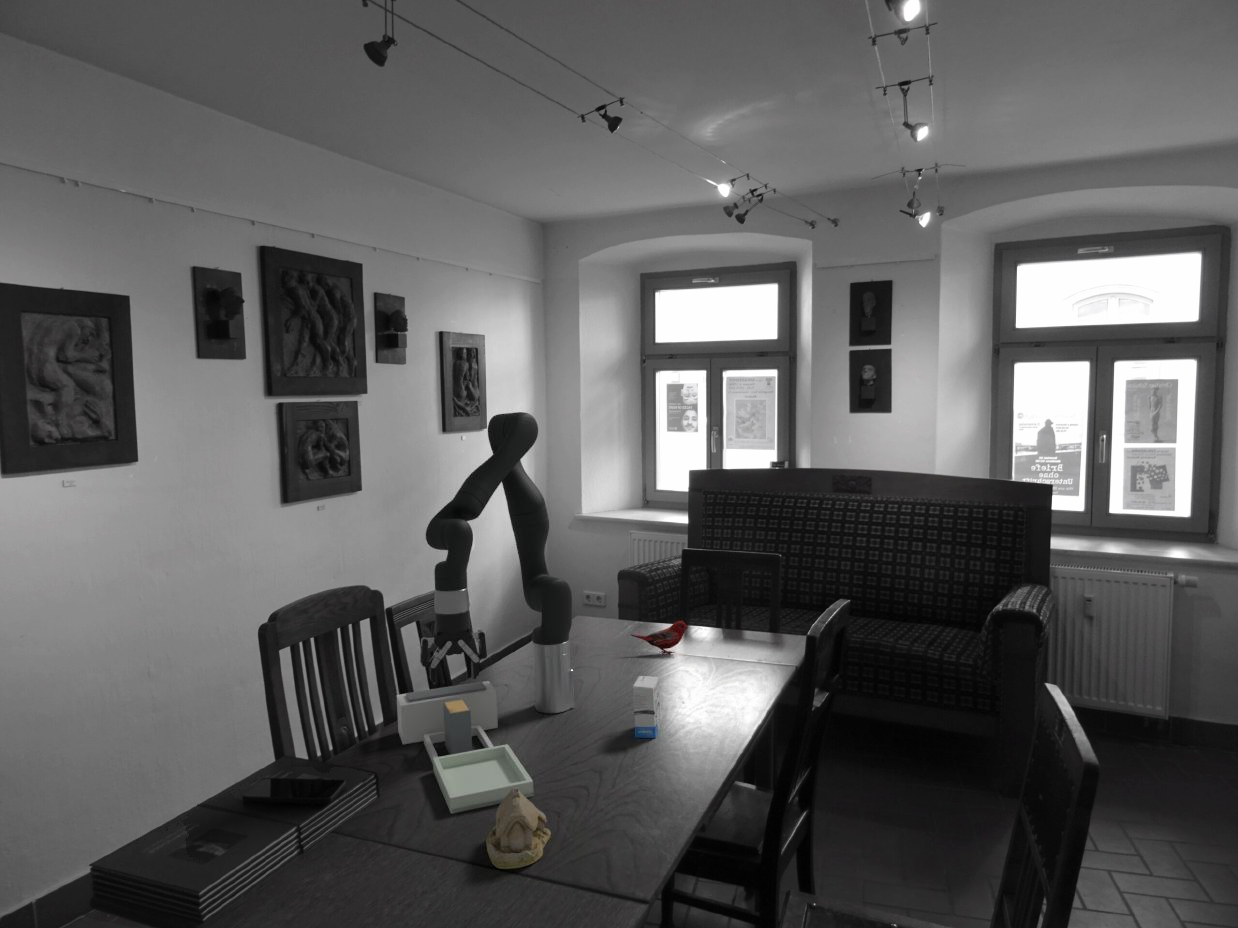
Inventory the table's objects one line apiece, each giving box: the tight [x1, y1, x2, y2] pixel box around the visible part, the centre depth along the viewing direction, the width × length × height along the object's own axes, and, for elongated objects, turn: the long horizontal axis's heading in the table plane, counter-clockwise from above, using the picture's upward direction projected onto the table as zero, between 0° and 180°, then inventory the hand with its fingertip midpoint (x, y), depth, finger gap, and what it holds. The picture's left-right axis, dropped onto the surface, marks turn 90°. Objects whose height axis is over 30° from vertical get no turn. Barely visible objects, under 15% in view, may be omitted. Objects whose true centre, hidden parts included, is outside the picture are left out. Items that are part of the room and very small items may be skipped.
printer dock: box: [396, 680, 499, 764], centre depth 188 cm, size 22×24×10 cm
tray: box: [432, 743, 535, 814], centre depth 167 cm, size 16×20×3 cm
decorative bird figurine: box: [630, 620, 689, 655], centre depth 251 cm, size 3×18×10 cm, turn 89°
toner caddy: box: [443, 699, 473, 755], centre depth 184 cm, size 4×8×10 cm, turn 22°
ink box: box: [632, 675, 661, 739], centre depth 191 cm, size 9×5×12 cm, turn 168°
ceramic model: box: [485, 788, 552, 870], centre depth 142 cm, size 14×11×10 cm
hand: (454, 680), depth 183 cm, fingers open, 8 cm apart
